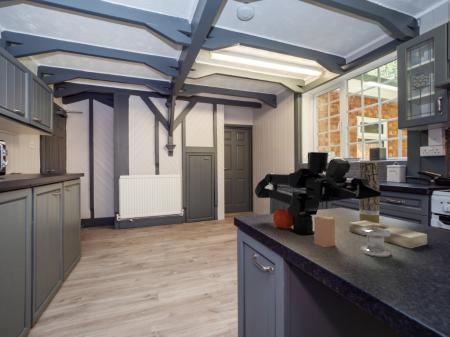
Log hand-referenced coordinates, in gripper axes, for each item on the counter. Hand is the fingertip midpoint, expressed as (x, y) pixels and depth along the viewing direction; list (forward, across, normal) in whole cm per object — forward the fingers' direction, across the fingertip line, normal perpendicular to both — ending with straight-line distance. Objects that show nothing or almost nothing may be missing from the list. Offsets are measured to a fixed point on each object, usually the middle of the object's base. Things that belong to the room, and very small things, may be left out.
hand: (368, 195), depth 64 cm
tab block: (-11, -3, +17) cm, 20 cm away
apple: (-32, -2, +20) cm, 37 cm away
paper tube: (-22, +32, +18) cm, 43 cm away
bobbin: (0, +5, +16) cm, 17 cm away
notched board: (-8, +20, +16) cm, 27 cm away
